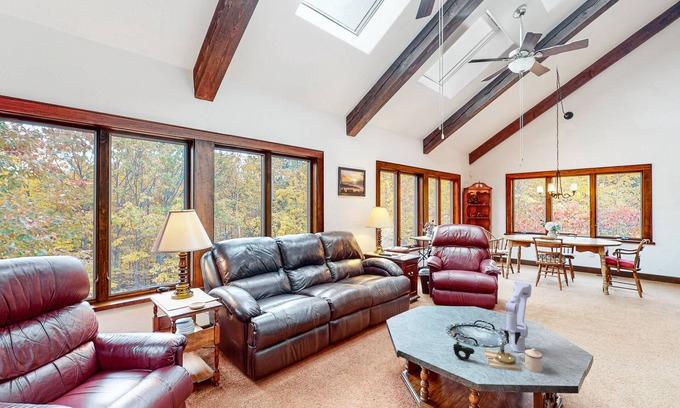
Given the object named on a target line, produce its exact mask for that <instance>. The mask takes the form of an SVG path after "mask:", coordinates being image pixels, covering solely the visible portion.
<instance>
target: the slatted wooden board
mask: <svg viewBox="0 0 680 408" xmlns="http://www.w3.org/2000/svg"><path fill="white" fill-rule="evenodd" d="M498 351H499V350H491V349H483V353H484V356H485V358H486V361H487V363H488V365H489V368H490V369H491V368H493V369H502V370H508V371H516V372H517V371H518V372H521V367H520V365H519V364H518V362H517V360H516V359H515V358H514V362H513V363H511V364H507V363H503V362H500V361H499V360H498V359H497V353H498ZM505 352H506V353H507V352H509V353H510V354H511V355H513V353H511V352H510V351H505Z"/></svg>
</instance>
